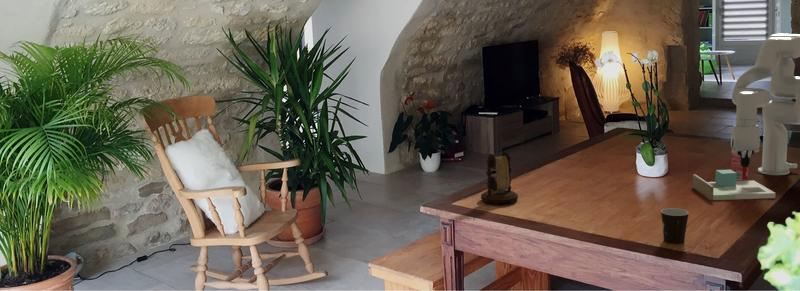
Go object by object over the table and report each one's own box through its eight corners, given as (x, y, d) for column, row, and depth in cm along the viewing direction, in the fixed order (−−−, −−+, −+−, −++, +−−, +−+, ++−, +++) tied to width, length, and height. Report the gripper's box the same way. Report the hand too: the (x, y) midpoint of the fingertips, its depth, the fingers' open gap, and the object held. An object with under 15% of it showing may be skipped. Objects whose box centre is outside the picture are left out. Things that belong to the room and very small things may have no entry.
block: (729, 182, 327) (730, 169, 326) (736, 186, 321) (736, 173, 320) (715, 183, 327) (715, 170, 326) (721, 186, 321) (721, 173, 320)
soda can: (749, 182, 333) (750, 152, 330) (731, 182, 334) (732, 152, 331) (745, 178, 339) (747, 149, 337) (727, 178, 341) (729, 149, 338)
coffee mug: (664, 235, 270) (665, 207, 268) (690, 239, 266) (691, 210, 264) (654, 245, 261) (654, 215, 259) (680, 249, 256) (681, 219, 254)
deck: (753, 185, 329) (754, 172, 328) (775, 198, 309) (776, 184, 308) (692, 187, 329) (693, 174, 328) (710, 200, 310) (711, 186, 309)
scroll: (494, 208, 311) (493, 158, 307) (474, 200, 323) (473, 152, 319) (525, 202, 317) (525, 153, 313) (504, 194, 330) (503, 147, 326)
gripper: (761, 119, 322) (759, 163, 326) (723, 121, 323) (722, 165, 327) (769, 123, 315) (767, 167, 319) (731, 125, 315) (729, 170, 319)
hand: (744, 166), depth 323 cm, fingers closed
